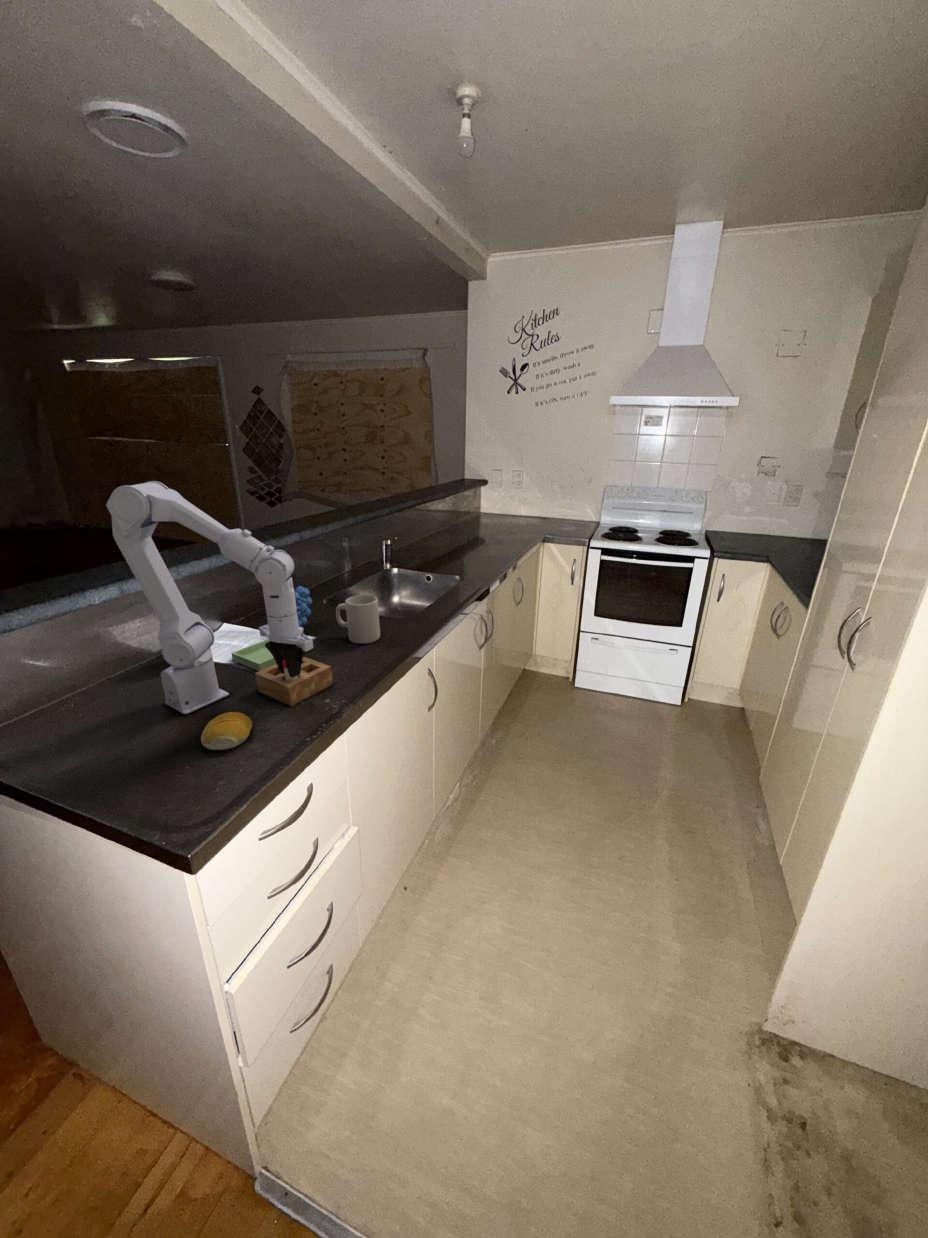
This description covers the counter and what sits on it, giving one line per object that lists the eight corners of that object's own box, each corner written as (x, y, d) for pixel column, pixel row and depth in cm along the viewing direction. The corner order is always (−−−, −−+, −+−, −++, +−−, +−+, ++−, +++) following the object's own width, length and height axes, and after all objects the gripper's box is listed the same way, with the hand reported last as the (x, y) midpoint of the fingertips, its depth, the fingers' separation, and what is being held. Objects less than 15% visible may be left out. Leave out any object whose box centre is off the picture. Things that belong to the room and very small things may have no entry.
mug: (385, 632, 136) (382, 595, 132) (373, 645, 128) (370, 605, 124) (345, 629, 138) (341, 593, 134) (331, 641, 130) (327, 602, 126)
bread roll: (255, 721, 94) (252, 703, 93) (247, 748, 86) (243, 729, 85) (209, 726, 92) (205, 708, 91) (196, 754, 84) (191, 735, 83)
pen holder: (291, 706, 99) (288, 687, 98) (257, 691, 105) (254, 673, 103) (333, 684, 108) (331, 666, 106) (300, 671, 114) (297, 654, 112)
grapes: (299, 618, 146) (293, 580, 142) (319, 620, 145) (315, 581, 140) (277, 633, 135) (271, 592, 131) (299, 635, 134) (293, 594, 130)
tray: (260, 671, 114) (259, 664, 113) (232, 660, 119) (231, 652, 119) (312, 649, 125) (311, 642, 125) (284, 639, 131) (283, 633, 131)
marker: (292, 698, 102) (287, 664, 99) (285, 695, 103) (279, 661, 100) (302, 693, 104) (297, 660, 101) (294, 690, 105) (289, 657, 102)
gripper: (322, 614, 96) (329, 675, 101) (276, 600, 103) (284, 658, 108) (292, 624, 90) (301, 689, 95) (246, 610, 98) (256, 670, 103)
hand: (290, 673), depth 101 cm, fingers closed on marker, 2 cm apart
